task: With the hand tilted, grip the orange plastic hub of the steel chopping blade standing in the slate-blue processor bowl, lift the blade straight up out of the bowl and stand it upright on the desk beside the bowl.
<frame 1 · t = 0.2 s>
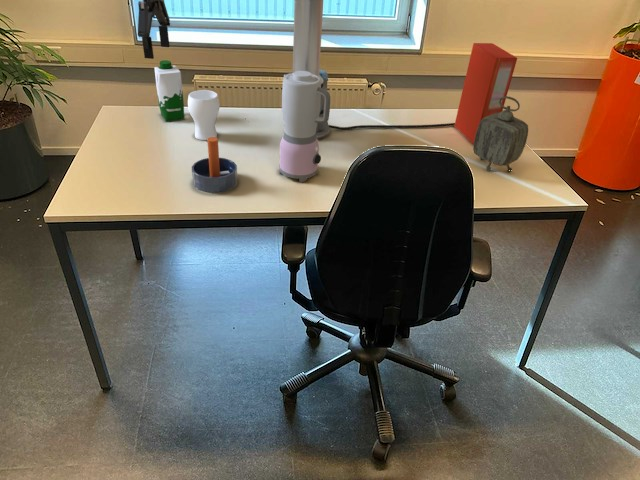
hand: (157, 52, 170), 28 cm above the table, tool pointing down, fingers open, 13 cm apart
milk carton: (172, 117, 198), on the table
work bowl: (215, 183, 159), on the table
blender: (302, 174, 167), on the table
tabletop clock: (490, 169, 178), on the table
cup: (206, 136, 186), on the table
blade: (215, 181, 159), point 1 cm above the table, touching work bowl
file binder: (473, 135, 200), on the table
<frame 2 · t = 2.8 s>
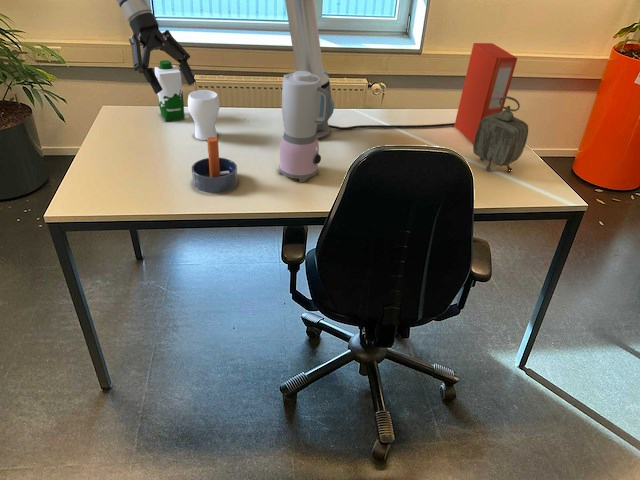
hand: (176, 87, 153), 25 cm above the table, tool tilted 35°, fingers open, 13 cm apart
nothing on the table moved.
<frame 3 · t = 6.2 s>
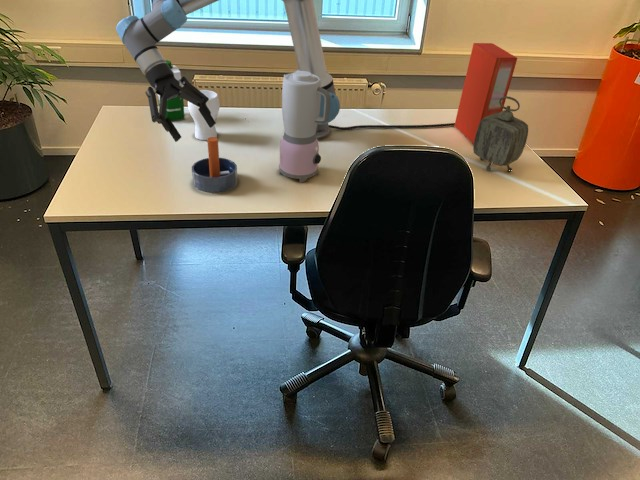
hand: (196, 132, 153), 15 cm above the table, tool tilted 45°, fingers open, 13 cm apart
nothing on the table moved.
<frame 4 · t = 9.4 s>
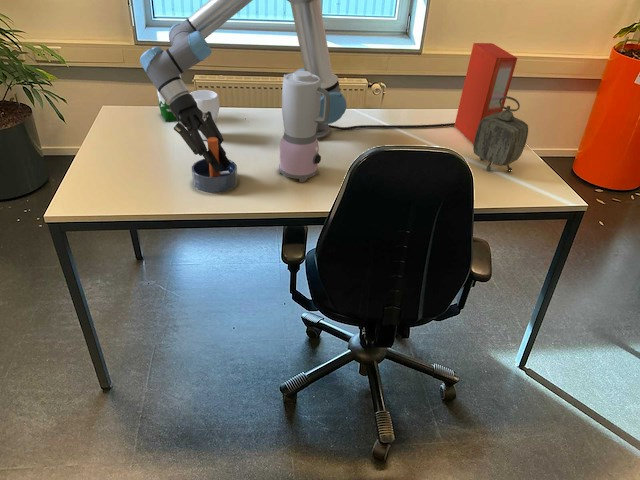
hand: (223, 168, 154), 6 cm above the table, tool tilted 45°, fingers closed on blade, 3 cm apart
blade: (215, 181, 159), point 1 cm above the table, touching gripper, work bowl
everything else where it was.
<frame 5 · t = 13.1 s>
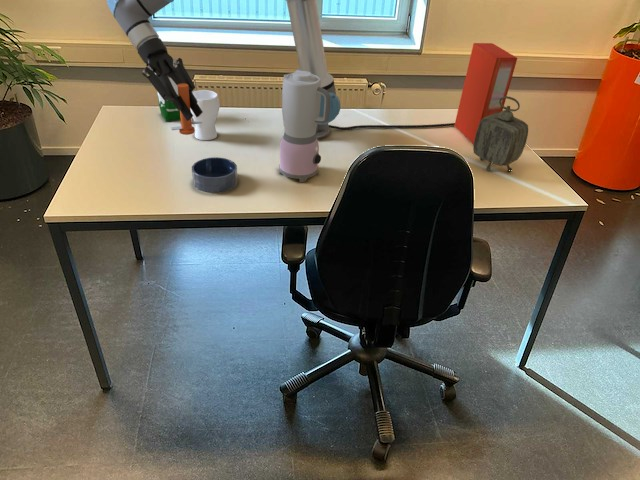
hand: (194, 116, 149), 20 cm above the table, tool tilted 45°, fingers closed on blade, 3 cm apart
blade: (187, 131, 154), point 14 cm above the table, touching gripper
everything else where it was.
when the fingers open (6 cm above the table, at t = 17.1 s): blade stays where it is, on the table.
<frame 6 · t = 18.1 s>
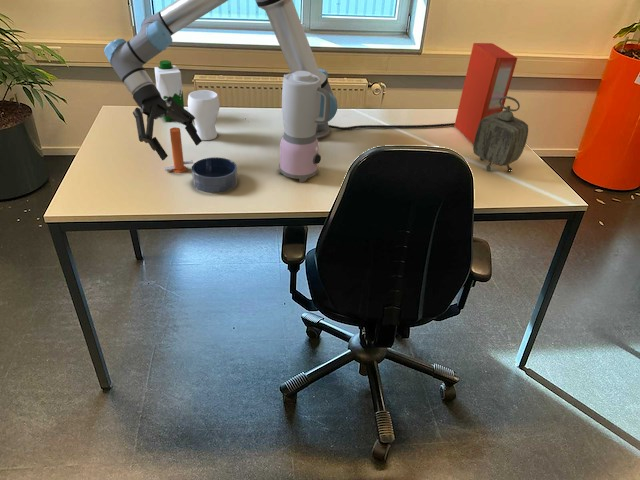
hand: (182, 150, 159), 8 cm above the table, tool tilted 45°, fingers open, 13 cm apart
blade: (179, 171, 164), on the table
everything else where it was.
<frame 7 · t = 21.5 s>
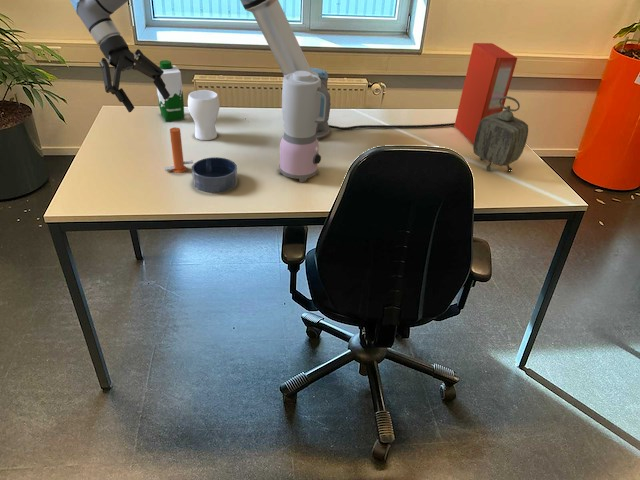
hand: (150, 103, 158), 19 cm above the table, tool tilted 45°, fingers open, 13 cm apart
nothing on the table moved.
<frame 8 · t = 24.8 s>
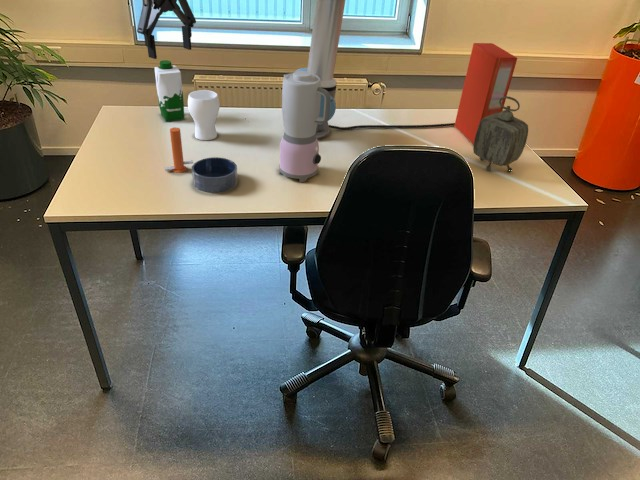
hand: (170, 53, 158), 32 cm above the table, tool pointing down, fingers open, 13 cm apart
nothing on the table moved.
at the end: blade inside the target area (0.1 cm from its centre), on the table; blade tilted 0°; the gripper is holding nothing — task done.
